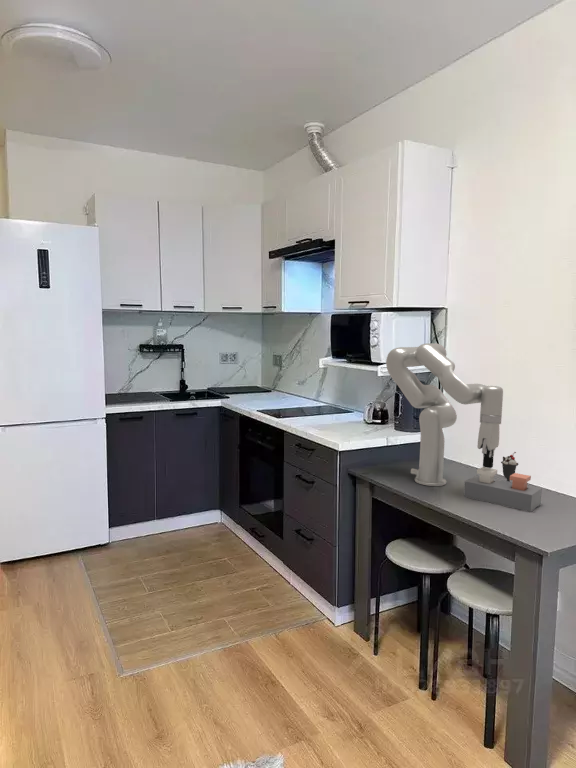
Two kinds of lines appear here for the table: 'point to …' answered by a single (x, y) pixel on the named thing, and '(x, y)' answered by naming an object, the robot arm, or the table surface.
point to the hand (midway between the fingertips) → (487, 467)
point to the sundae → (509, 466)
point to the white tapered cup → (486, 474)
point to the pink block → (519, 481)
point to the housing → (503, 493)
